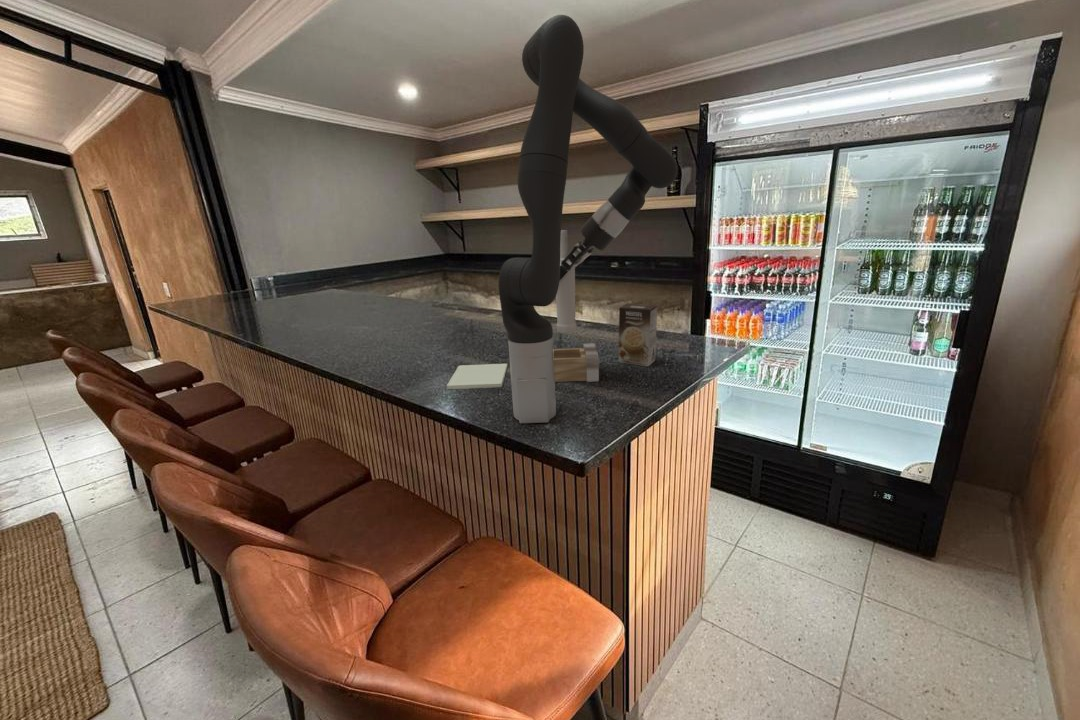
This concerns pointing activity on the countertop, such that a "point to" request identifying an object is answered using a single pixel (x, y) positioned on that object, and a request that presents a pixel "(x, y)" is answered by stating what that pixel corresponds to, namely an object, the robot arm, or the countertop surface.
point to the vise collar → (576, 364)
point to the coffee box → (637, 334)
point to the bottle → (566, 293)
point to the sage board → (478, 376)
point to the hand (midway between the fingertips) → (557, 277)
